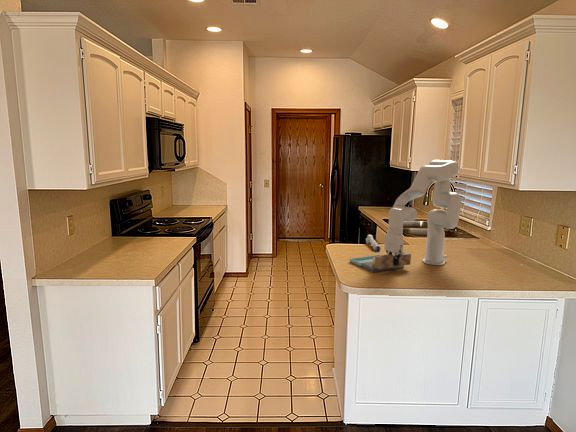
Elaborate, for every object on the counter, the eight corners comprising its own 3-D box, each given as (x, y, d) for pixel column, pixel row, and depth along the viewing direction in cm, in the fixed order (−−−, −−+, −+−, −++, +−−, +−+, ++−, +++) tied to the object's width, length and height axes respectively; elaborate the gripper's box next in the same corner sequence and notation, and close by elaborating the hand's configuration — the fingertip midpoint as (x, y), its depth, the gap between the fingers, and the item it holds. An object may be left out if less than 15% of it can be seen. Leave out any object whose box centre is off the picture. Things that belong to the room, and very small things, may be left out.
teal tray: (379, 258, 248) (379, 254, 248) (391, 262, 239) (391, 259, 239) (349, 262, 238) (349, 258, 237) (361, 267, 229) (361, 263, 228)
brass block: (378, 264, 226) (378, 257, 226) (382, 266, 223) (383, 259, 222) (372, 264, 225) (372, 257, 224) (377, 266, 221) (377, 259, 220)
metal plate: (391, 262, 239) (391, 258, 238) (403, 267, 230) (404, 263, 230) (361, 267, 228) (361, 262, 228) (373, 272, 220) (373, 267, 219)
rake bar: (404, 262, 229) (405, 252, 228) (410, 264, 226) (411, 253, 225) (374, 267, 218) (375, 256, 217) (379, 269, 215) (380, 258, 214)
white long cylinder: (374, 245, 263) (365, 232, 287) (373, 255, 265) (364, 241, 289) (382, 246, 264) (373, 232, 287) (381, 255, 266) (372, 241, 289)
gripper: (379, 228, 224) (377, 260, 227) (401, 234, 210) (398, 269, 213) (389, 227, 228) (387, 259, 231) (412, 233, 213) (409, 267, 216)
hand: (392, 263), depth 222 cm, fingers closed on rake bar, 4 cm apart
